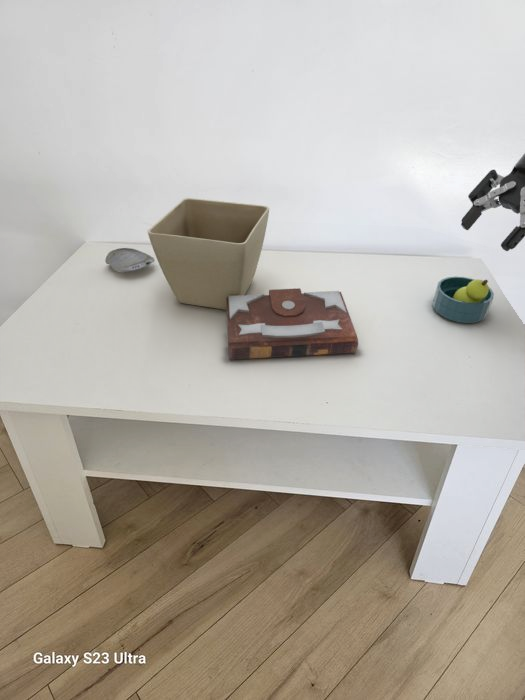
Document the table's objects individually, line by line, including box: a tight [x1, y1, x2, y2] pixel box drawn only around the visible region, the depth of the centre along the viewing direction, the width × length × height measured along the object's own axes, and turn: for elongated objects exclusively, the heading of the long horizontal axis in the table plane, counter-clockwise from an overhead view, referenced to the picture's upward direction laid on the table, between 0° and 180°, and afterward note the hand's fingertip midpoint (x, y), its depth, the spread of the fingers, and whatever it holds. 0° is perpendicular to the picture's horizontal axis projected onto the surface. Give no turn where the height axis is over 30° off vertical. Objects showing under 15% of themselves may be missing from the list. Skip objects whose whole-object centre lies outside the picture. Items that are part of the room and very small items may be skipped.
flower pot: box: [147, 197, 270, 311], centre depth 95 cm, size 19×19×17 cm
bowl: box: [432, 276, 495, 324], centre depth 94 cm, size 11×11×5 cm
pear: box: [453, 279, 490, 303], centre depth 91 cm, size 5×5×9 cm
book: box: [226, 287, 359, 361], centre depth 87 cm, size 23×16×5 cm
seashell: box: [104, 247, 156, 273], centre depth 106 cm, size 12×8×5 cm
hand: (483, 237), depth 79 cm, fingers open, 8 cm apart
